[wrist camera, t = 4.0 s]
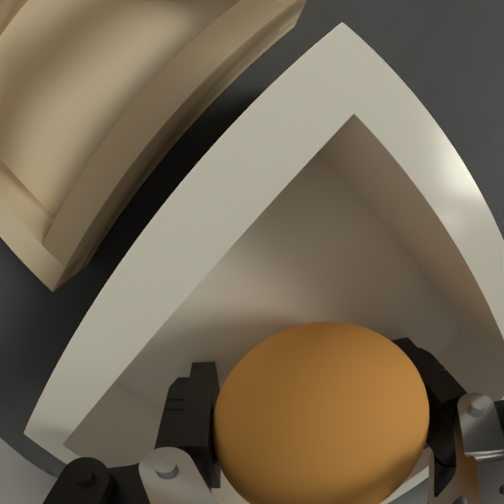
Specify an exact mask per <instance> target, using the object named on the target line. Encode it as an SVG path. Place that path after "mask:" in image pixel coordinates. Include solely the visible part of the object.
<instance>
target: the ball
mask: <svg viewBox="0 0 504 504" xmlns="http://www.w3.org/2000/svg"><path fill="white" fill-rule="evenodd" d="M428 428H429V403H428V398H427V393H426V389H425V386H424V383H423V381H422V378H421V376H420V374H419V372H418V370H417V368H416V367H415V365H414V364H413V363H412V361H411V360H410V359H409V357H408V356H407V355H406V354H405V353H404V352H403V351H402V350H401V349H400V348H399V347H398V346H397V345H396V344H394V343H393V342H392V341H390V340H389V339H387V338H386V337H384V336H382V335H381V334H379V333H377V332H375V331H373V330H370V329H367V328H364V327H361V326H358V325H355V324H349V323H343V322H328V321H327V322H314V323H308V324H302V325H299V326H295V327H291V328H289V329H286V330H284V331H281V332H279V333H277V334H275V335H273V336H271V337H269V338H267V339H265V340H264V341H262V342H261V343H259V344H258V345H257V346H255V347H254V348H253V349H252V350H250V351H249V352H248V353H247V354H246V355H245V356H244V357H243V358H242V359H241V360H240V361H239V362H238V363H237V364H236V366H235V367H234V368H233V370H232V371H231V372H230V374H229V376H228V377H227V379H226V380H225V382H224V384H223V386H222V388H221V390H220V393H219V395H218V398H217V401H216V404H215V408H214V414H213V443H214V449H215V455H216V458H217V460H218V463H219V465H220V467H221V470H222V472H223V474H224V476H225V477H226V479H227V480H228V481H229V483H230V484H231V486H232V487H233V488H234V490H235V491H236V492H237V493H238V494H239V495H240V496H241V497H242V498H244V499H245V500H246V501H247V502H248V503H250V504H380V503H382V502H383V501H384V500H386V499H387V498H388V497H389V496H390V495H392V494H393V493H394V492H395V491H396V490H397V489H398V488H399V487H400V486H401V485H402V484H403V483H404V481H405V480H406V479H407V478H408V476H409V475H410V474H411V472H412V471H413V469H414V467H415V466H416V464H417V462H418V460H419V458H420V456H421V454H422V451H423V448H424V446H425V443H426V439H427V435H428Z"/></svg>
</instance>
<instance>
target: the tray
mask: <svg viewBox="0 0 504 504" xmlns="http://www.w3.org/2000/svg"><path fill="white" fill-rule="evenodd" d="M306 1H307V0H0V237H1V238H2V239H3V241H4V242H5V243H6V244H7V245H8V246H9V247H10V249H11V250H12V251H13V252H14V253H15V254H16V255H17V256H18V257H19V259H20V260H21V261H22V262H23V263H24V264H25V265H26V266H27V267H28V268H29V269H30V270H31V271H32V272H33V273H34V274H35V275H36V276H37V277H38V278H39V279H40V280H41V281H42V282H43V283H44V284H45V285H46V286H47V287H48V288H49V289H50V290H51V291H52V292H53V291H55V290H56V289H57V288H58V287H60V286H61V285H62V284H64V283H65V282H66V281H67V280H69V279H70V278H71V277H73V276H74V275H75V274H77V273H78V272H79V271H81V270H82V269H83V268H85V267H86V266H87V265H88V264H89V262H90V260H91V259H92V257H93V255H94V254H95V252H96V251H97V249H98V248H99V246H100V244H101V243H102V241H103V240H104V238H105V237H106V235H107V234H108V232H109V231H110V229H111V228H112V226H113V225H114V223H115V222H116V220H117V219H118V218H119V216H120V215H121V213H122V212H123V210H124V209H125V208H126V206H127V205H128V203H129V202H130V201H131V199H132V198H133V197H134V195H135V194H136V193H137V191H138V190H139V189H140V187H141V186H142V185H143V183H144V182H145V181H146V179H147V178H148V177H149V175H150V174H151V173H152V172H153V170H154V169H155V168H156V167H157V165H158V164H159V163H160V162H161V160H162V159H163V158H164V157H165V155H166V154H167V153H168V152H169V151H170V149H171V148H172V147H173V146H174V145H175V143H176V142H177V141H178V140H179V139H180V138H181V136H182V135H183V134H184V133H185V132H186V131H187V130H188V128H189V127H190V126H191V125H192V124H193V123H194V122H195V121H196V120H197V118H198V117H199V116H200V115H201V114H202V113H203V112H204V111H205V110H206V109H207V108H208V107H209V106H210V104H211V103H212V102H213V101H214V100H215V99H216V98H217V97H218V96H219V95H220V94H221V93H222V92H223V91H224V90H225V89H226V88H227V87H228V86H229V85H230V84H231V83H232V82H233V81H234V80H235V79H236V78H237V77H238V76H239V75H240V74H241V73H242V72H243V71H244V70H245V69H247V68H248V67H249V66H250V65H251V64H252V63H253V62H254V61H255V60H256V59H257V58H258V57H260V56H261V55H262V54H263V53H264V52H265V51H266V50H267V49H268V48H270V47H271V46H272V45H273V44H274V43H275V42H277V41H278V40H279V39H280V38H281V37H282V36H284V35H285V34H286V33H287V32H288V31H290V30H291V29H292V28H293V27H294V26H295V24H296V22H297V20H298V18H299V15H300V13H301V11H302V9H303V7H304V5H305V3H306Z"/></svg>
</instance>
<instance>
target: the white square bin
mask: <svg viewBox="0 0 504 504" xmlns="http://www.w3.org/2000/svg"><path fill="white" fill-rule="evenodd" d="M327 321H328V322H343V323H349V324H355V325H358V326H361V327H364V328H367V329H370V330H373V331H375V332H377V333H379V334H381V335H382V336H384V337H386V338H387V339H389V340H395V339H400V338H404V337H408V338H409V339H410V340H411V341H412V342H413V343H414V344H415V345H416V346H417V347H418V348H420V347H421V348H422V349H424V350H426V351H428V352H430V353H431V354H432V355H433V356H434V357H435V358H436V359H437V360H438V361H439V364H440V363H441V364H442V365H443V366H444V367H445V370H447V371H448V372H449V373H450V374H451V375H452V376H453V377H454V378H455V380H456V381H457V382H458V383H459V384H460V385H461V386H462V387H463V388H464V390H465V391H466V392H467V393H472V392H476V393H481V394H484V395H486V396H488V397H489V398H490V399H491V400H492V401H499V400H504V240H503V238H502V236H501V233H500V231H499V229H498V227H497V225H496V222H495V220H494V218H493V216H492V214H491V212H490V210H489V208H488V206H487V204H486V202H485V200H484V198H483V196H482V194H481V192H480V191H479V189H478V187H477V185H476V183H475V182H474V180H473V178H472V176H471V175H470V173H469V171H468V170H467V168H466V166H465V165H464V163H463V161H462V160H461V158H460V157H459V155H458V153H457V152H456V150H455V149H454V147H453V146H452V144H451V143H450V141H449V140H448V138H447V137H446V135H445V134H444V133H443V131H442V130H441V128H440V127H439V126H438V124H437V123H436V122H435V120H434V119H433V117H432V116H431V115H430V114H429V112H428V111H427V110H426V108H425V107H424V106H423V105H422V103H421V102H420V101H419V100H418V98H417V97H416V96H415V95H414V94H413V92H412V91H411V90H410V89H409V88H408V86H407V85H406V84H405V83H404V82H403V81H402V80H401V79H400V77H399V76H398V75H397V74H396V73H395V72H394V71H393V70H392V69H391V68H390V67H389V66H388V64H387V63H386V62H385V61H384V60H383V59H382V58H381V57H380V56H379V55H378V54H377V53H376V52H375V51H374V50H373V49H372V48H371V47H370V46H368V45H367V44H366V43H365V42H364V41H363V40H362V39H361V38H360V37H359V36H358V35H357V34H355V33H354V32H353V31H352V30H351V29H350V28H349V27H348V26H346V25H345V24H344V23H343V22H342V23H340V24H339V25H338V26H337V27H335V28H334V29H333V30H332V31H331V32H329V33H328V34H327V35H326V36H325V37H323V38H322V39H321V40H320V41H319V42H317V43H316V44H315V45H314V46H313V47H312V48H311V49H309V50H308V51H307V52H306V53H305V54H304V55H303V56H301V57H300V58H299V59H298V60H297V61H296V62H295V63H294V64H293V65H292V66H290V67H289V68H288V69H287V70H286V71H285V72H284V73H283V74H282V75H281V76H280V77H279V78H278V79H277V80H276V81H274V82H273V83H272V84H271V85H270V86H269V87H268V88H267V89H266V90H265V91H264V92H263V93H262V94H261V95H260V96H259V97H258V98H257V99H256V100H255V101H254V102H253V103H252V104H251V105H250V106H249V107H248V108H247V109H246V110H245V111H244V112H243V113H242V114H241V115H240V117H239V118H238V119H237V120H236V121H235V122H234V123H233V124H232V125H231V126H230V127H229V128H228V129H227V130H226V131H225V133H224V134H223V135H222V136H221V137H220V138H219V139H218V140H217V141H216V142H215V144H214V145H213V146H212V147H211V148H210V149H209V150H208V151H207V152H206V154H205V155H204V156H203V157H202V158H201V159H200V161H199V162H198V163H197V164H196V165H195V166H194V167H193V169H192V170H191V171H190V172H189V173H188V175H187V176H186V177H185V178H184V179H183V181H182V182H181V183H180V184H179V185H178V187H177V188H176V189H175V190H174V192H173V193H172V194H171V195H170V196H169V198H168V199H167V200H166V202H165V203H164V204H163V205H162V207H161V208H160V209H159V210H158V212H157V213H156V214H155V216H154V217H153V218H152V219H151V221H150V222H149V223H148V225H147V226H146V227H145V229H144V230H143V231H142V233H141V234H140V235H139V237H138V238H137V240H136V241H135V242H134V244H133V245H132V246H131V248H130V249H129V251H128V252H127V253H126V255H125V256H124V258H123V259H122V260H121V262H120V263H119V265H118V266H117V268H116V269H115V271H114V272H113V274H112V275H111V276H110V278H109V279H108V281H107V282H106V284H105V285H104V287H103V288H102V290H101V292H100V293H99V295H98V296H97V298H96V299H95V301H94V302H93V304H92V306H91V307H90V309H89V310H88V312H87V314H86V315H85V317H84V318H83V320H82V322H81V323H80V325H79V327H78V328H77V330H76V332H75V333H74V335H73V337H72V339H71V340H70V342H69V344H68V345H67V347H66V349H65V351H64V353H63V354H62V356H61V358H60V360H59V362H58V363H57V365H56V367H55V369H54V371H53V373H52V375H51V377H50V378H49V380H48V382H47V384H46V386H45V388H44V390H43V392H42V394H41V396H40V398H39V400H38V402H37V405H36V407H35V409H34V411H33V413H32V415H31V417H30V420H29V422H28V424H27V426H26V429H25V431H24V434H25V435H26V436H28V437H29V438H30V439H31V440H33V441H34V442H35V443H37V444H38V445H40V446H41V447H42V448H44V449H45V450H46V451H48V452H49V453H51V454H52V455H54V456H55V457H57V458H58V459H60V460H61V461H63V462H64V463H66V464H68V463H70V462H71V461H73V460H75V459H77V458H81V457H92V458H95V459H98V460H99V461H101V462H102V463H103V464H105V466H106V467H107V468H113V467H121V466H129V465H134V464H137V463H139V462H140V461H141V459H142V458H143V457H144V456H145V455H146V454H147V453H148V452H150V451H152V450H153V449H154V447H155V443H156V439H157V435H158V430H159V426H160V422H161V418H162V414H163V411H164V405H165V401H166V397H167V393H168V389H169V387H170V386H171V384H172V383H173V382H174V381H175V380H176V379H177V378H178V377H190V371H191V366H192V363H193V362H213V361H215V364H216V369H217V375H218V382H219V388H220V390H221V388H222V386H223V384H224V382H225V380H226V379H227V377H228V376H229V374H230V372H231V371H232V370H233V368H234V367H235V366H236V364H237V363H238V362H239V361H240V360H241V359H242V358H243V357H244V356H245V355H246V354H247V353H248V352H249V351H250V350H252V349H253V348H254V347H255V346H257V345H258V344H259V343H261V342H262V341H264V340H265V339H267V338H269V337H271V336H273V335H275V334H277V333H279V332H281V331H284V330H286V329H289V328H291V327H295V326H299V325H302V324H308V323H314V322H327ZM431 452H432V450H431V448H430V447H428V448H426V449H423V451H422V454H421V456H420V458H419V460H418V462H417V464H416V466H415V467H414V469H413V471H412V472H411V474H410V475H409V476H408V478H407V479H406V480H405V481H404V483H403V484H402V485H401V486H400V487H399V488H398V489H397V490H396V491H395V492H394V493H393V494H392V495H390V496H389V497H388V498H387V499H386V500H384V501H383V502H382V503H380V504H387V503H389V502H391V501H392V500H394V499H396V498H397V497H399V496H401V495H402V494H404V493H405V492H407V491H408V490H410V489H411V488H413V487H414V486H416V485H417V484H419V483H420V482H422V481H423V480H424V479H426V478H427V477H429V457H430V454H431ZM211 494H212V496H213V497H214V499H215V500H216V502H217V504H250V503H248V502H247V501H246V500H245V499H244V498H242V497H241V496H240V495H239V494H238V493H237V492H236V491H235V490H234V488H233V487H232V486H231V484H230V483H229V481H228V480H227V479H226V477H225V476H224V474H223V472H222V470H221V485H220V488H211Z"/></svg>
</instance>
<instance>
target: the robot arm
mask: <svg viewBox="0 0 504 504" xmlns="http://www.w3.org/2000/svg"><path fill="white" fill-rule="evenodd" d="M390 341H392V342H393V343H394V344H396V345H397V346H398V347H399V348H400V349H401V350H402V351H403V352H404V353H405V354H406V355H407V356H408V357H409V359H410V360H411V361H412V363H413V364H414V365H415V367H416V368H417V370H418V372H419V374H420V376H421V378H422V381H423V383H424V386H425V389H426V393H427V398H428V403H429V428H428V435H427V439H426V443H425V446H424V448H423V449H426V448H428V447H430V448H431V450H432V452H431V454H430V457H429V485H428V502H427V504H504V400H499V401H492V400H491V399H490V398H489V397H488V396H486V395H484V394H481V393H476V392H472V393H467V392H466V391H465V390H464V388H463V387H462V386H461V385H460V384H459V383H458V382H457V381H456V380H455V378H454V377H453V376H452V375H451V374H450V373H449V372H448V371H447V370H445V367H444V366H443V365H442V364H441V363H440V364H439V361H438V360H437V359H436V358H435V357H434V356H433V355H432V354H431V353H430V352H428V351H426V350H424V349H422V348H421V347H420V348H418V347H417V346H416V345H415V344H414V343H413V342H412V341H411V340H410V339H409V338H408V337H404V338H400V339H395V340H390ZM219 393H220V388H219V382H218V375H217V369H216V364H215V361H213V362H193V363H192V366H191V371H190V377H178V378H177V379H176V380H175V381H174V382H173V383H172V384H171V386H170V387H169V389H168V393H167V397H166V401H165V405H164V411H163V414H162V418H161V422H160V426H159V430H158V435H157V439H156V443H155V447H154V449H153V450H152V451H150V452H148V453H147V454H146V455H145V456H144V457H143V458H142V459H141V461H140V462H139V463H137V464H134V465H129V466H121V467H113V468H107V467H106V466H105V464H103V463H102V462H101V461H99V460H98V459H95V458H92V457H81V458H77V459H75V460H73V461H71V462H70V463H68V464H67V465H66V467H65V468H64V470H63V471H62V473H61V474H60V476H59V478H58V479H57V481H56V483H55V484H54V486H53V488H52V489H51V491H50V492H49V494H48V496H47V498H46V499H45V501H44V502H43V504H217V502H216V500H215V499H214V497H213V496H212V494H211V488H220V485H221V467H220V465H219V463H218V460H217V458H216V455H215V449H214V443H213V414H214V408H215V404H216V401H217V398H218V395H219Z"/></svg>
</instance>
